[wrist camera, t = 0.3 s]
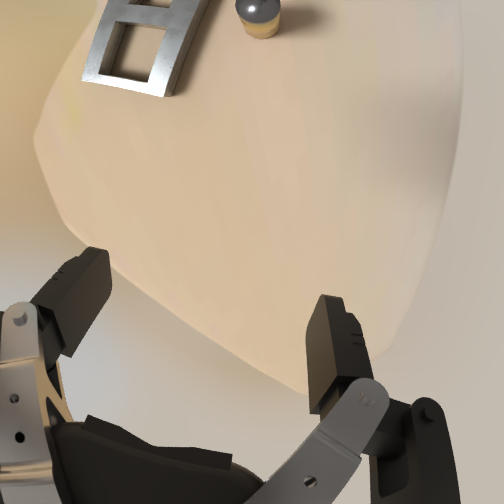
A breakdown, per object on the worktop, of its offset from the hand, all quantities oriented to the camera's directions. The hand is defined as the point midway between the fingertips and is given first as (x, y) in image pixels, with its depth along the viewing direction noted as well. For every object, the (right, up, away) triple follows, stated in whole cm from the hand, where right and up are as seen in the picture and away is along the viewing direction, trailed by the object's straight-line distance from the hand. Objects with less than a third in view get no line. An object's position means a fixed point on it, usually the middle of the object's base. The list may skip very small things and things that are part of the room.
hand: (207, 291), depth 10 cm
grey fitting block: (-11, +29, +15) cm, 35 cm away
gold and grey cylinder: (+3, +27, +15) cm, 31 cm away
